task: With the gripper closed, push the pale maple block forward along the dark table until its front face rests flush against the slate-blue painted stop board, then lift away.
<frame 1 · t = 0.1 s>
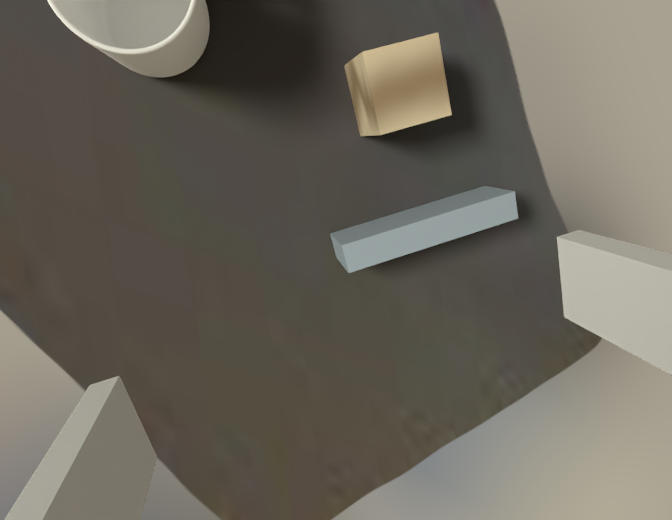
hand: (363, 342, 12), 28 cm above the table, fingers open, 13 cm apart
mug: (175, 8, 33), on the table
board: (411, 221, 42), on the table
block: (384, 93, 38), on the table
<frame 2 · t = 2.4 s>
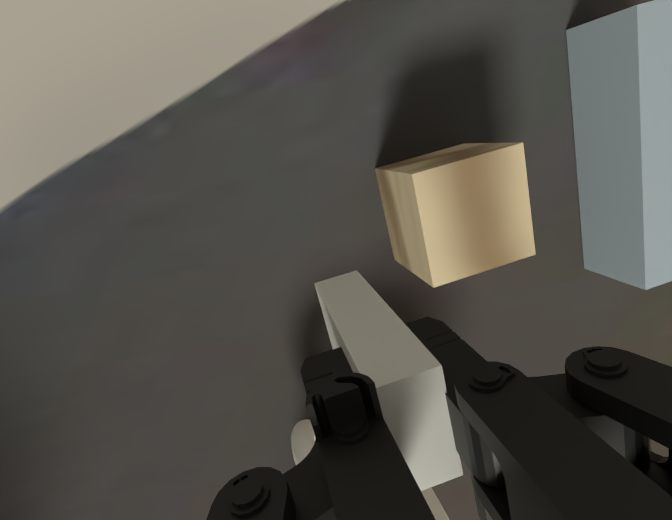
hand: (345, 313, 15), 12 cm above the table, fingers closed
mug: (336, 442, 31), on the table
board: (591, 154, 29), on the table
block: (428, 202, 28), on the table
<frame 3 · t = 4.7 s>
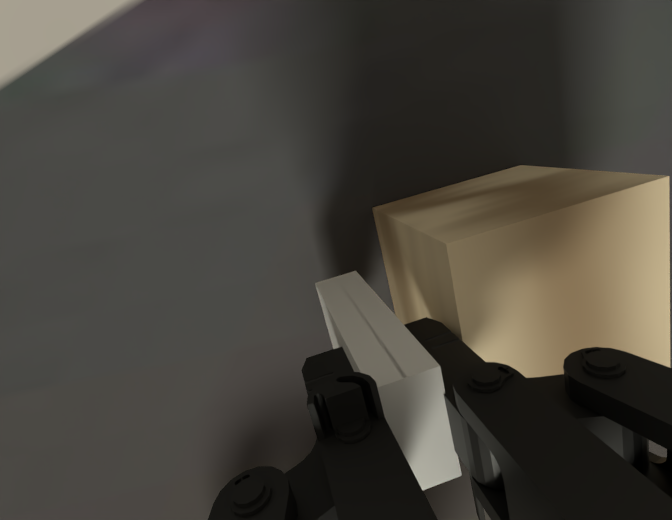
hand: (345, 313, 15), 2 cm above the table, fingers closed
block: (460, 260, 17), on the table, touching gripper
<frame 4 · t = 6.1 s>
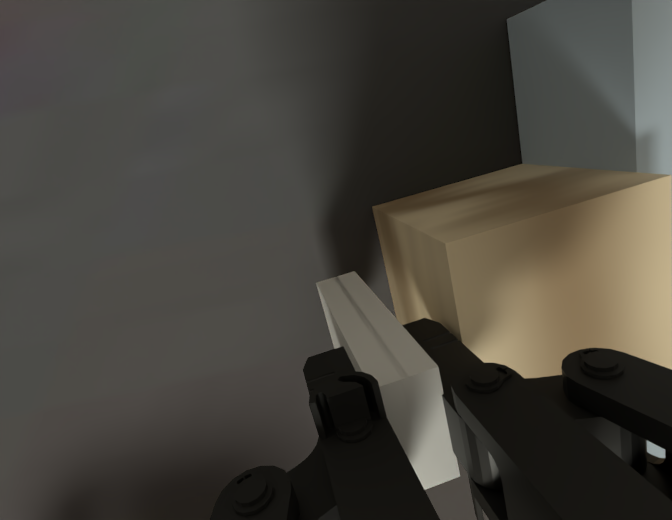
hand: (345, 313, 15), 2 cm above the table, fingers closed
board: (558, 230, 17), on the table
block: (461, 260, 17), on the table, touching board, gripper
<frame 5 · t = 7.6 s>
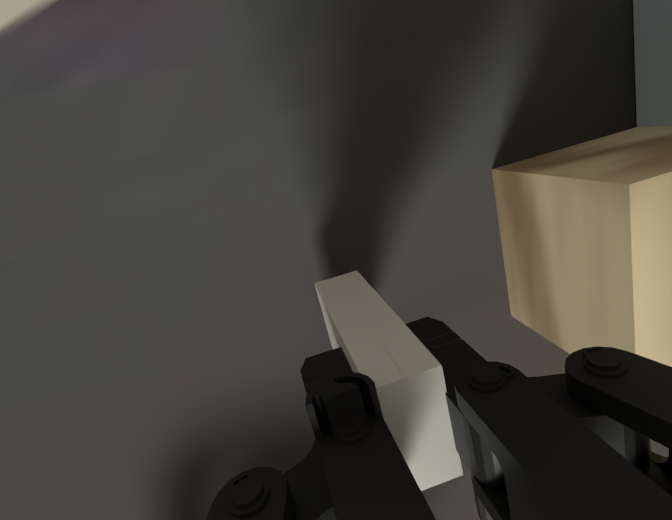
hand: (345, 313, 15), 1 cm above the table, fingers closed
board: (666, 196, 17), on the table
block: (569, 224, 17), on the table
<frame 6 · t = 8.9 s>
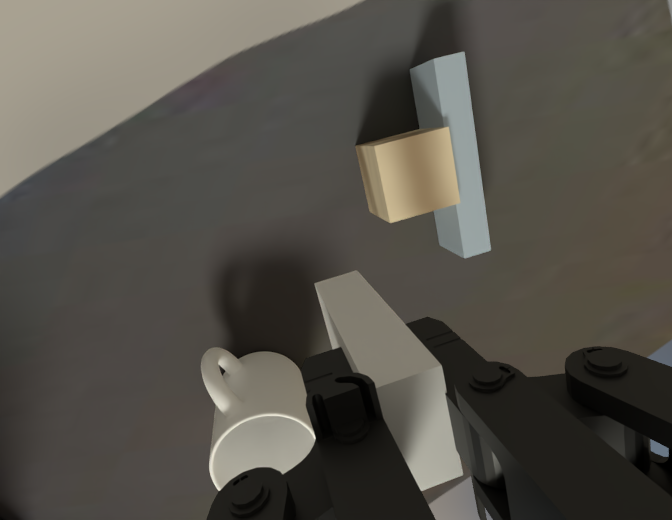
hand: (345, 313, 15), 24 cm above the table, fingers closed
mug: (250, 372, 41), on the table
board: (438, 159, 39), on the table
block: (393, 170, 39), on the table
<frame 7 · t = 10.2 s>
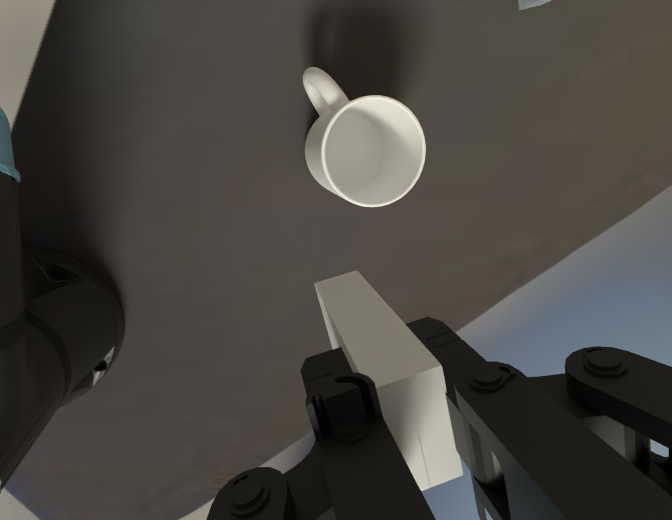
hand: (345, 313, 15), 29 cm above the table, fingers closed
mug: (334, 134, 42), on the table
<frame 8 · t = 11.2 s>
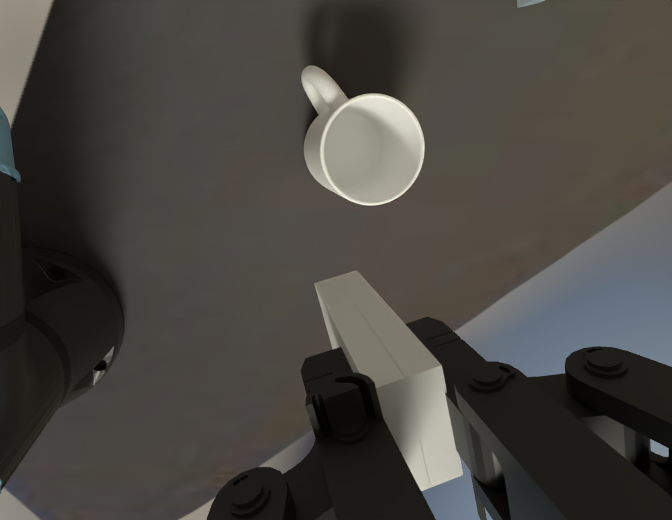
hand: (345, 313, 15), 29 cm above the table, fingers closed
mug: (333, 132, 42), on the table
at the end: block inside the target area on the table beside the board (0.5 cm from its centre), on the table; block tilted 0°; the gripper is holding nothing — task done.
